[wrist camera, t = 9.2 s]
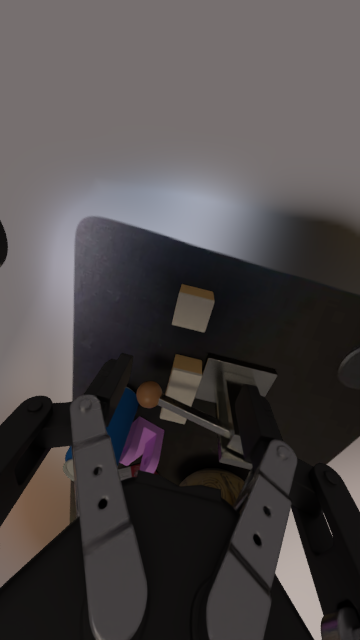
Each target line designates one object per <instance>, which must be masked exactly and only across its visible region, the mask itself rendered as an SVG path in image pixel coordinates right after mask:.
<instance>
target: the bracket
mask: <svg viewBox="0 0 360 640" xmlns="http://www.w3.org/2000/svg"><path fill="white" fill-rule="evenodd" d="M163 436H164V430H163V429H161V428H159V427H157V426H156V425H154V424H152V423H151V422H149V421H147V420H145V419H144V418H142V417H140V416H139V417H138V418H137V419H136V420H135V421H134V422H133V423H132V425H131V428H130V431H129V434H128V437H127V440H126V443H125V446H124V448H123V451H122V454H121V457H120V460H119V462H120V463H122V464H124V465H126V466H128V465H129V464H130V463H131V462H133V461H135V460H136V459H137V458H138V457H140V456H141V455H142V454H143V457H142V460H141V464H140V470H141V471H145V472H149V473H154V472H155V470H156V468H157V466H158V463H159V458H160V452H161V447H162V441H163Z"/></svg>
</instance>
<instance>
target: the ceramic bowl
mask: <svg viewBox="0 0 360 640" xmlns="http://www.w3.org/2000/svg"><path fill="white" fill-rule="evenodd" d="M244 483H245V482H244V481H243V480H242V479H241V478H240V477H238V476H236V475H235V474H233V473H232V472H229V471H227V470H223V469H219V468H205V469H202V470H198V471H196V472H194V473H192V474H191V475H189V476H188V477H186V478H185V479H184V480H183V481H182V482H181V484H180V485H179V486H192V485H204V486H208V487H213V488H217V489H221V497H222V498H223V499H225V500H226V501H227V502H228V503H230V504H231V505H232V506H233V504H234V503H235V501H236V499H237V497H238V495H239V493H240V491H241V489H242V487H243V485H244Z"/></svg>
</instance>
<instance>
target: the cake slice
mask: <svg viewBox="0 0 360 640" xmlns="http://www.w3.org/2000/svg"><path fill="white" fill-rule="evenodd" d="M214 303H215V301H214V295H213V292H212V291H208V290H204V289H200V288H196V287H192V286H188V285H184V284H182V285H181V288H180V292H179V295H178V299H177V304H176V308H175V312H174V316H173V321H172V325H176V326H180V327H184V328H188V329H192V330H196V331H200V332H205V330H206V327H207V324H208V321H209V318H210V315H211V312H212V309H213V306H214Z"/></svg>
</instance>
